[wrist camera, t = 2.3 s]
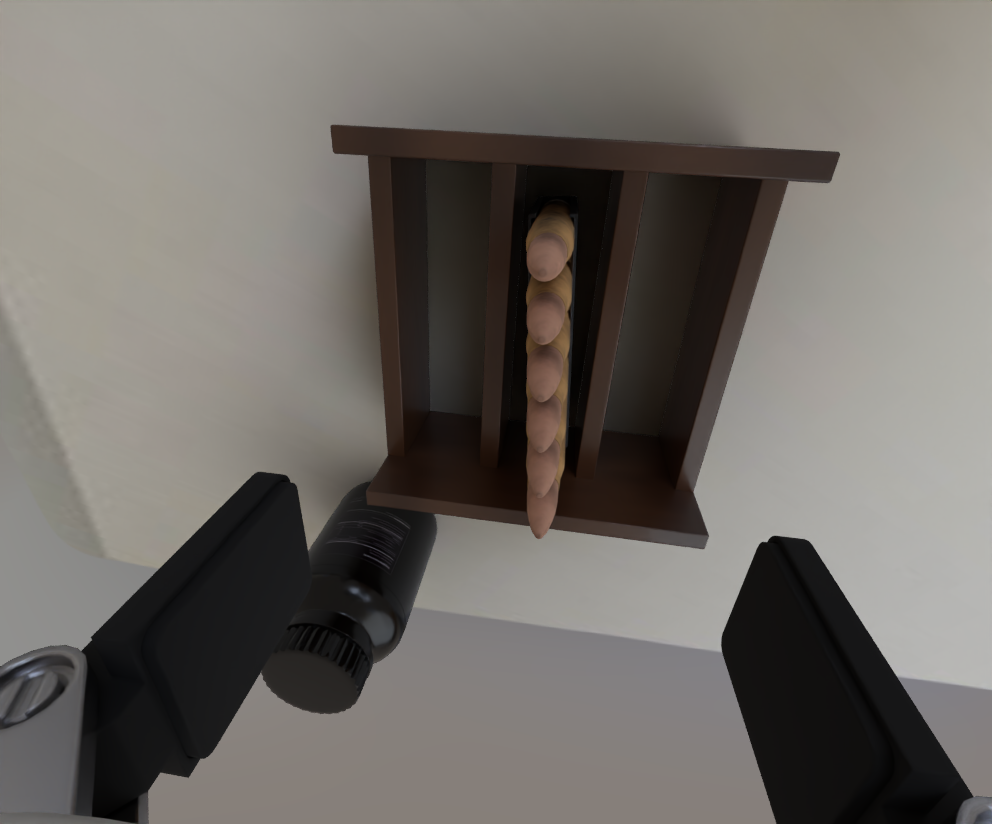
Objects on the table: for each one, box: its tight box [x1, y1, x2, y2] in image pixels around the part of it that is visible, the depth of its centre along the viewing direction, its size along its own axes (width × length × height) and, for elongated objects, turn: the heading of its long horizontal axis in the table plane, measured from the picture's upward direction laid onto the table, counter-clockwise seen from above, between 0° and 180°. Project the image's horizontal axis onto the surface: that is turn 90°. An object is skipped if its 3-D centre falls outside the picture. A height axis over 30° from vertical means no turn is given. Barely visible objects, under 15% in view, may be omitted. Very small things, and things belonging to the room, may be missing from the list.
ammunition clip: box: [526, 196, 578, 539], centre depth 20 cm, size 11×2×12 cm, turn 2°
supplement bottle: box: [261, 481, 437, 714], centre depth 28 cm, size 7×7×12 cm
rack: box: [331, 125, 840, 549], centre depth 21 cm, size 15×15×8 cm
